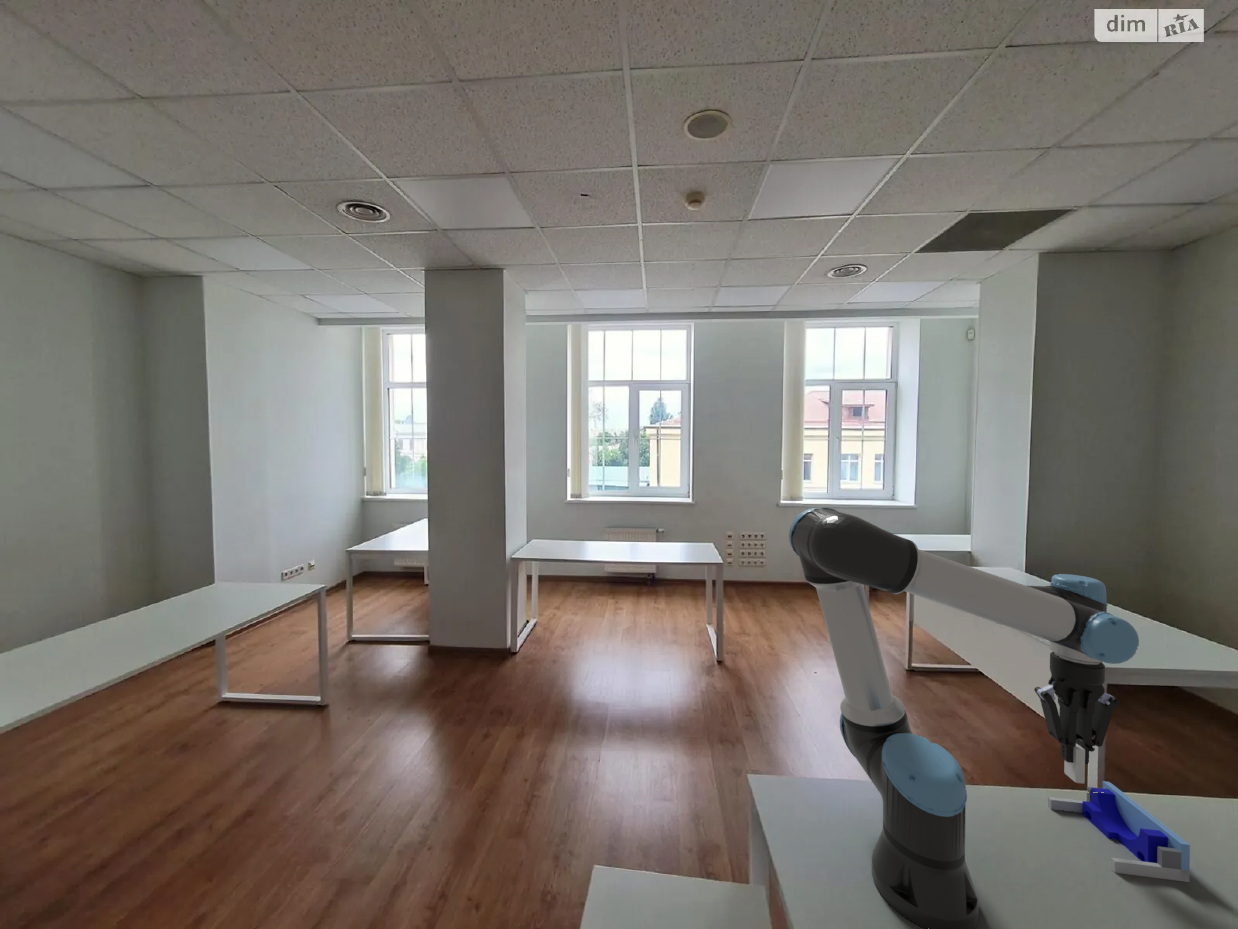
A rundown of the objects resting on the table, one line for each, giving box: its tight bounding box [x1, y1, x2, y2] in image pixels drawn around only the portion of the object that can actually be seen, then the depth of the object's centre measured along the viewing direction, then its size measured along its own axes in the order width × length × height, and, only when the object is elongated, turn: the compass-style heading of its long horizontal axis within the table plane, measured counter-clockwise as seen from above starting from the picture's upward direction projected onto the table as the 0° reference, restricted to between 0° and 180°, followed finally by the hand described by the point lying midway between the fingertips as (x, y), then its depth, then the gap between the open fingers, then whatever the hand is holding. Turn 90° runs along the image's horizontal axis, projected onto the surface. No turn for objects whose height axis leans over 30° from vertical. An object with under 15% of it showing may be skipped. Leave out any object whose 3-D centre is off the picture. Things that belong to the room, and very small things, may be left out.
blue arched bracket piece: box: [1082, 786, 1168, 863], centre depth 87 cm, size 12×4×6 cm, turn 170°
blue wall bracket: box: [1047, 780, 1191, 883], centre depth 87 cm, size 11×16×6 cm
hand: (1074, 778), depth 88 cm, fingers closed
